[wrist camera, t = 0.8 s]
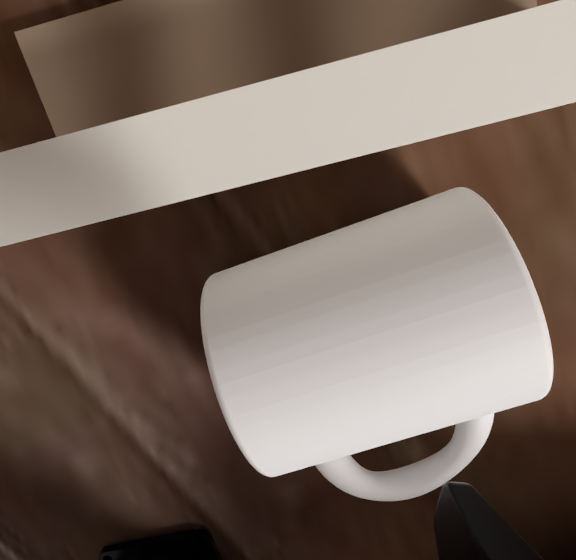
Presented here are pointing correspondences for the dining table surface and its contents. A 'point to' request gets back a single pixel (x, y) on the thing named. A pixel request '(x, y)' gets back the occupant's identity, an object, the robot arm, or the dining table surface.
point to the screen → (262, 93)
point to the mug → (377, 344)
